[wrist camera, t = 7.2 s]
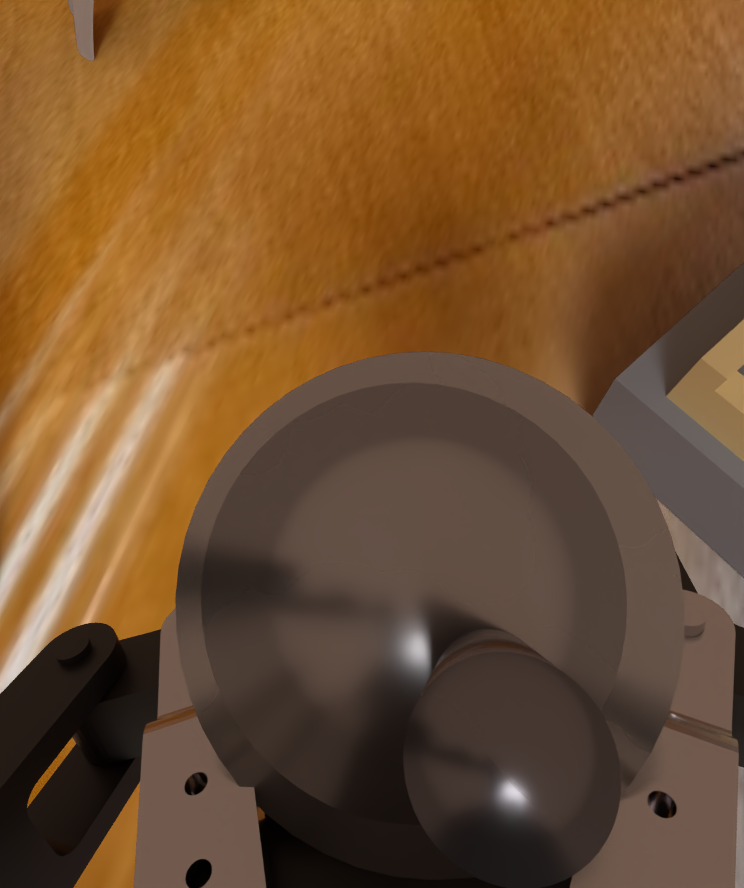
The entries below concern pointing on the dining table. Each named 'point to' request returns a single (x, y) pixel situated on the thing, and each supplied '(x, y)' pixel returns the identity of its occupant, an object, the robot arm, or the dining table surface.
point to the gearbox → (691, 418)
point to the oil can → (432, 619)
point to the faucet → (83, 26)
